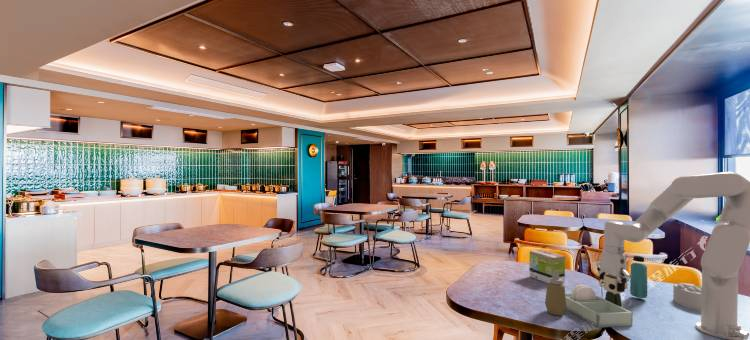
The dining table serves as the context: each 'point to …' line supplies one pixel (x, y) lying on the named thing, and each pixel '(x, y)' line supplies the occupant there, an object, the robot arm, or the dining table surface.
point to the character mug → (612, 289)
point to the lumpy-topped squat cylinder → (688, 295)
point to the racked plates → (583, 293)
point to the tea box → (546, 265)
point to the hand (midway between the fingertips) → (611, 287)
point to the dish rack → (599, 312)
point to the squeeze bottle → (555, 295)
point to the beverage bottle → (638, 278)
